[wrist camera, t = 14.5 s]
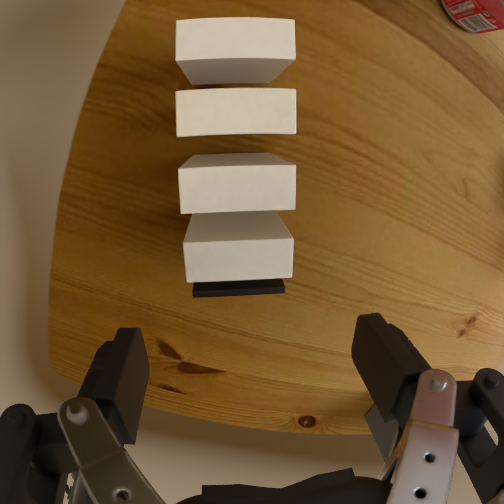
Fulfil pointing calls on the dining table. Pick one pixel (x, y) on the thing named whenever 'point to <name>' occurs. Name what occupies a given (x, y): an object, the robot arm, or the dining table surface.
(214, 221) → the cream book
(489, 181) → the dining table surface
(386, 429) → the grey books
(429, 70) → the dining table surface
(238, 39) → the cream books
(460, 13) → the soda can
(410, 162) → the dining table surface
